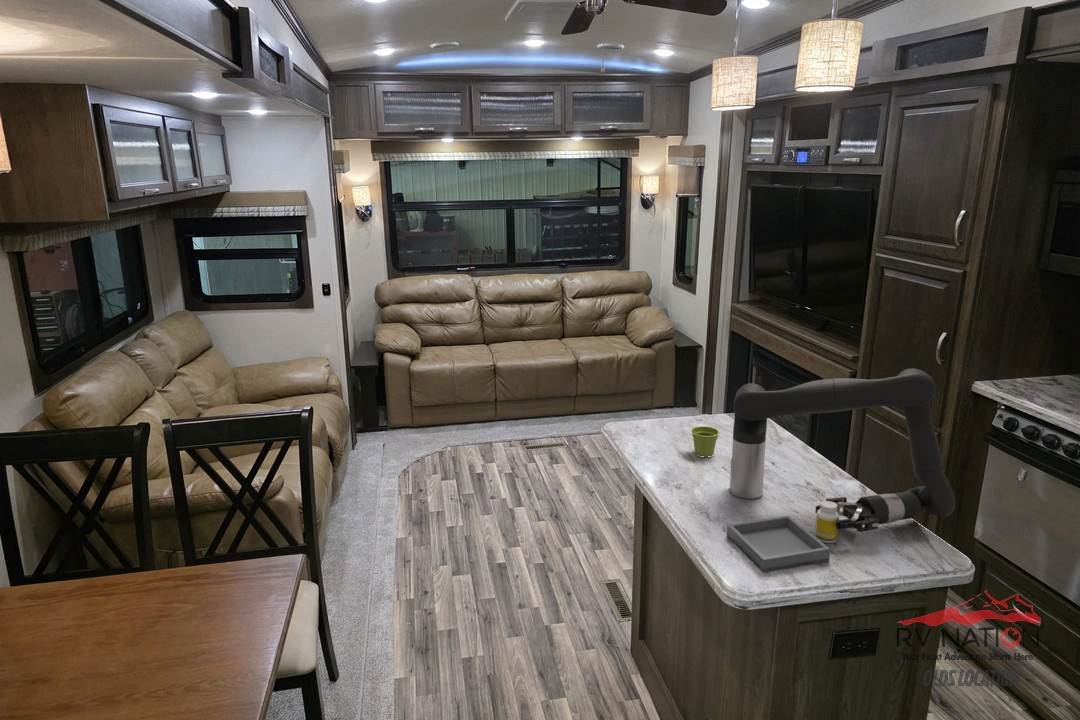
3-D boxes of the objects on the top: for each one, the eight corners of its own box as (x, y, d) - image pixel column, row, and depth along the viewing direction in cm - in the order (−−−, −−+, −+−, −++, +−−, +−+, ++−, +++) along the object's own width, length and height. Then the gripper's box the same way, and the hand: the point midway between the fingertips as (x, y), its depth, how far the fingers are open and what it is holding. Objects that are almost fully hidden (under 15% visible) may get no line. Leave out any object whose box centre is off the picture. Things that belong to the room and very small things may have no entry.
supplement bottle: (839, 544, 179) (842, 509, 176) (816, 542, 180) (819, 508, 177) (834, 534, 184) (837, 500, 181) (813, 532, 185) (815, 498, 182)
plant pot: (722, 452, 239) (723, 428, 236) (713, 462, 231) (713, 437, 229) (696, 447, 243) (696, 424, 241) (686, 457, 236) (686, 433, 234)
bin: (726, 536, 184) (727, 524, 183) (787, 527, 188) (788, 515, 187) (763, 572, 167) (763, 559, 166) (829, 561, 171) (830, 548, 170)
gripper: (863, 484, 189) (810, 492, 186) (901, 508, 176) (845, 517, 172) (861, 510, 191) (808, 518, 188) (898, 535, 178) (842, 544, 174)
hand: (826, 517), depth 180 cm, fingers open, 8 cm apart
